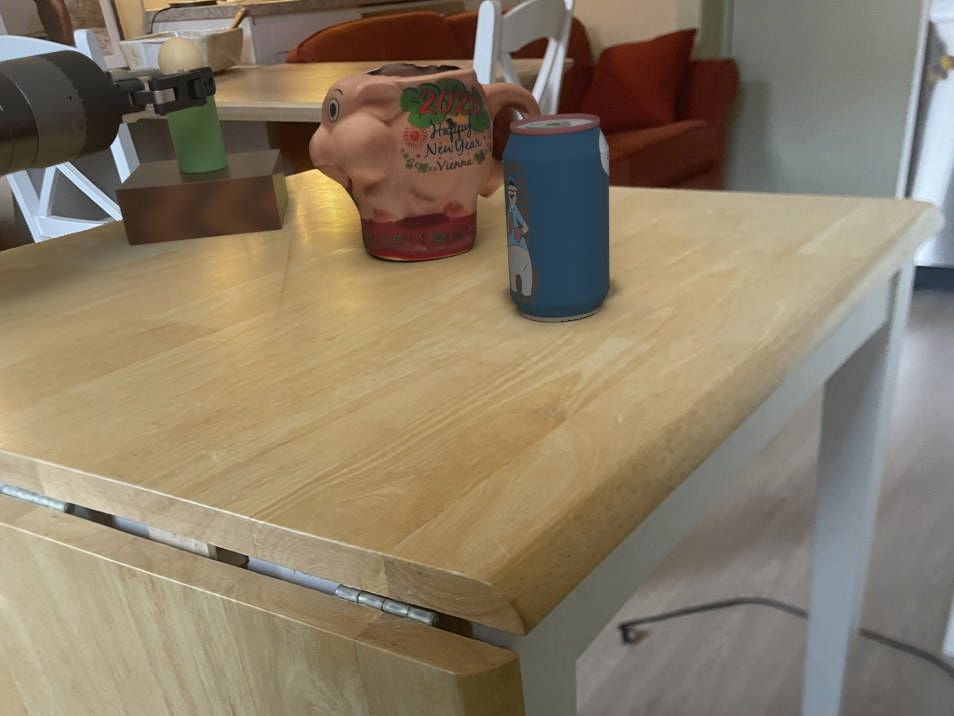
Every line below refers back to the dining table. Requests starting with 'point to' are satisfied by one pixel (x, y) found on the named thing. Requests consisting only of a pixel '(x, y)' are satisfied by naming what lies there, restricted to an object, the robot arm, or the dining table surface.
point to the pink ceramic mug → (415, 153)
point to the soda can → (557, 216)
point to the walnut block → (204, 199)
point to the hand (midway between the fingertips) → (172, 81)
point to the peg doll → (192, 115)
